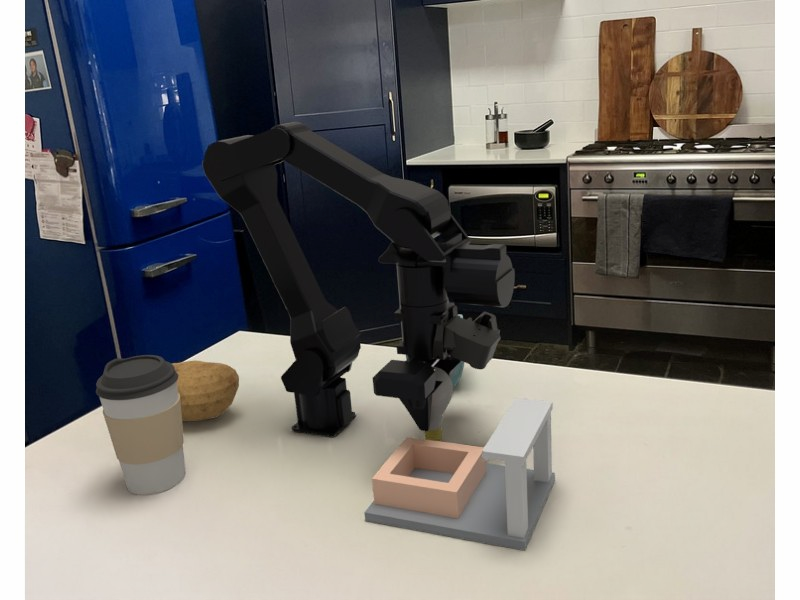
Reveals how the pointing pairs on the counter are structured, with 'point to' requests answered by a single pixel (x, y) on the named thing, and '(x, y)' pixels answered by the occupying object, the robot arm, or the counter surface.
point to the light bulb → (439, 405)
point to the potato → (205, 389)
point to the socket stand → (471, 482)
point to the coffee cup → (144, 421)
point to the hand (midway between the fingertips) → (432, 420)
